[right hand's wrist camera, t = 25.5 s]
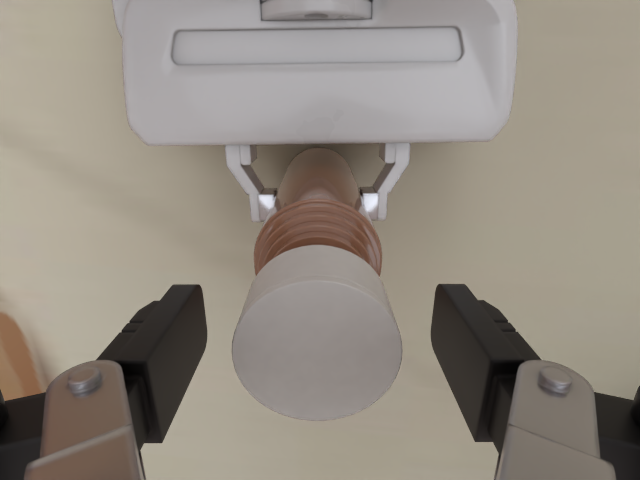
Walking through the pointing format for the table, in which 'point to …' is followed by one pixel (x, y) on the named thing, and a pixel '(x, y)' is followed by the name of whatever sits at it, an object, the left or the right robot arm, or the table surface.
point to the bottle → (318, 211)
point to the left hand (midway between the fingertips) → (319, 219)
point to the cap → (317, 335)
